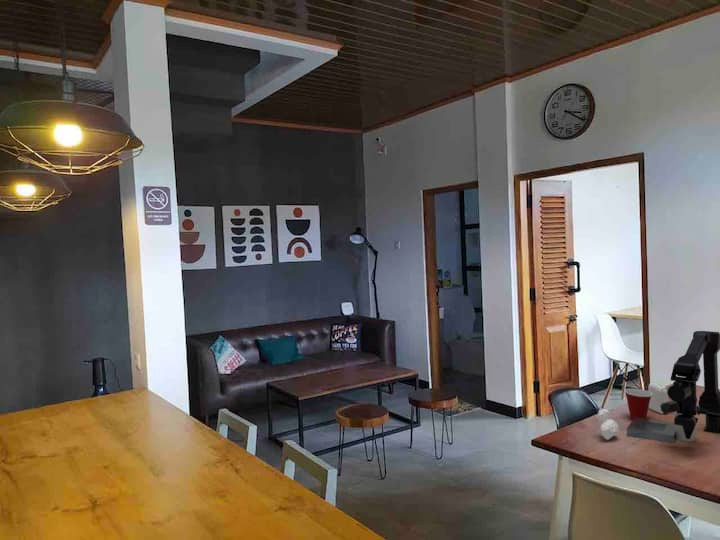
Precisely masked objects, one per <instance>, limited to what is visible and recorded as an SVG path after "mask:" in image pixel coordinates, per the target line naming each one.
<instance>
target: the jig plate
mask: <svg viewBox="0 0 720 540" xmlns="http://www.w3.org/2000/svg"><path fill="white" fill-rule="evenodd" d="M626 437H631V438H637V439H645V440H649V441H650V440H651V441H657V442H663V443H671V444H672V443H675V441H676V431H675V424H674V422H671V421H665V420H657V419H648V418H646V419H644V418H637V417H635V418H634V419H633V420H631V422H630V423H629V425H628V426H627V427H626Z"/></svg>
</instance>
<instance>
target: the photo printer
mask: <svg viewBox="0 0 720 540" xmlns="http://www.w3.org/2000/svg"><path fill="white" fill-rule="evenodd" d="M668 389H669V388H667V387H666V386H665V385H663V384H662V383H659V382H650V383H649V384H648V387H647V391H649V392H651V393H652V394H653V395H652V396H651V399H650V402H649V407H648V409H650V410H652V411H654V412H656V413H659V414H662V415H664V414H663V412H662V411H661V407H660V405H661V404H662V403H665V402H670V401H669V399H670V398H669V396H668V393H667V391H668ZM668 414H669V413H667V414H666V415H668Z"/></svg>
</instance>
